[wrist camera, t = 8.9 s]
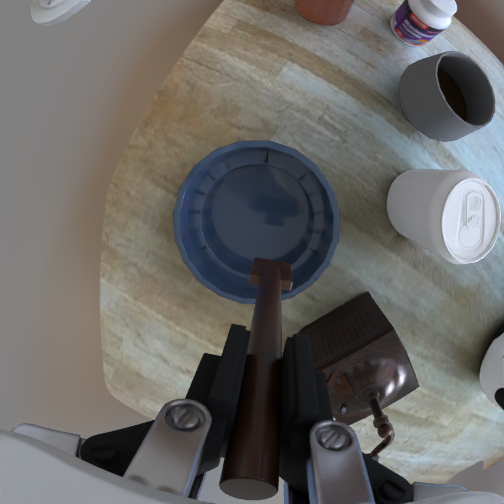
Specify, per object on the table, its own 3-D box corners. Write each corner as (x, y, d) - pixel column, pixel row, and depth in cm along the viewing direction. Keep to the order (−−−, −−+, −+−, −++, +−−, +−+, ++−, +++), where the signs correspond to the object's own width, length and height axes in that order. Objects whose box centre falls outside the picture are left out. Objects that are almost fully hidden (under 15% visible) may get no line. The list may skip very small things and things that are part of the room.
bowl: (166, 202, 32) (143, 209, 26) (274, 120, 29) (273, 107, 23) (244, 305, 34) (238, 330, 29) (353, 233, 31) (369, 246, 25)
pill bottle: (388, 38, 24) (419, 3, 15) (389, 9, 23) (416, -29, 13) (426, 54, 24) (465, 27, 15) (426, 24, 23) (459, -7, 13)
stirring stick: (252, 269, 23) (189, 489, 5) (255, 252, 22) (189, 466, 5) (288, 275, 22) (298, 504, 5) (291, 258, 22) (314, 483, 5)
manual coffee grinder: (290, 333, 35) (295, 450, 18) (368, 288, 33) (432, 383, 15) (342, 403, 38) (361, 502, 20) (407, 367, 35) (453, 458, 18)
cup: (400, 148, 28) (445, 142, 18) (376, 73, 26) (410, 40, 16) (460, 139, 27) (510, 134, 17) (438, 70, 24) (481, 46, 15)
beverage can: (382, 237, 31) (431, 270, 19) (384, 166, 29) (438, 165, 17) (439, 237, 30) (497, 267, 19) (442, 172, 28) (506, 177, 16)
